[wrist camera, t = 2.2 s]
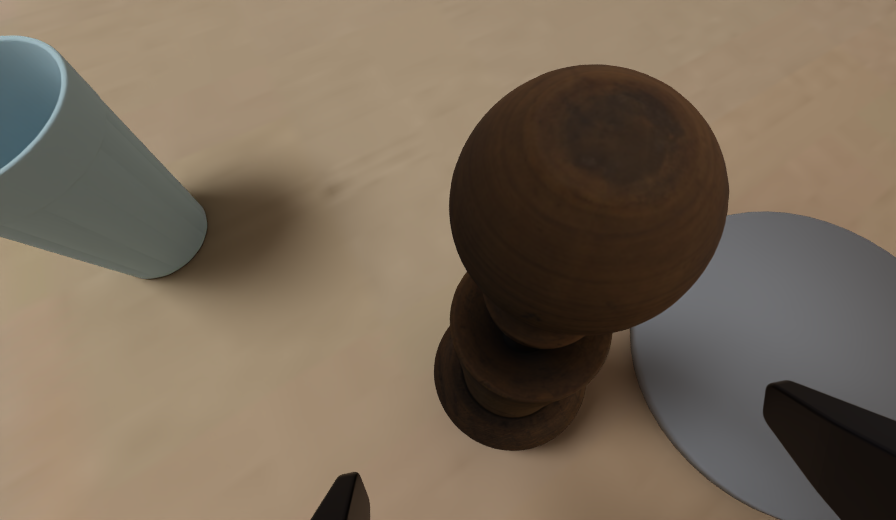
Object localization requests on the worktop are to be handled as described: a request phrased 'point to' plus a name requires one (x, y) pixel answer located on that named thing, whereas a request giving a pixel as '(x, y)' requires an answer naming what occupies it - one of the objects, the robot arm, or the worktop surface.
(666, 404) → the mat
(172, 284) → the worktop surface
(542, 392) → the wooden pepper mill
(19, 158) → the cup
